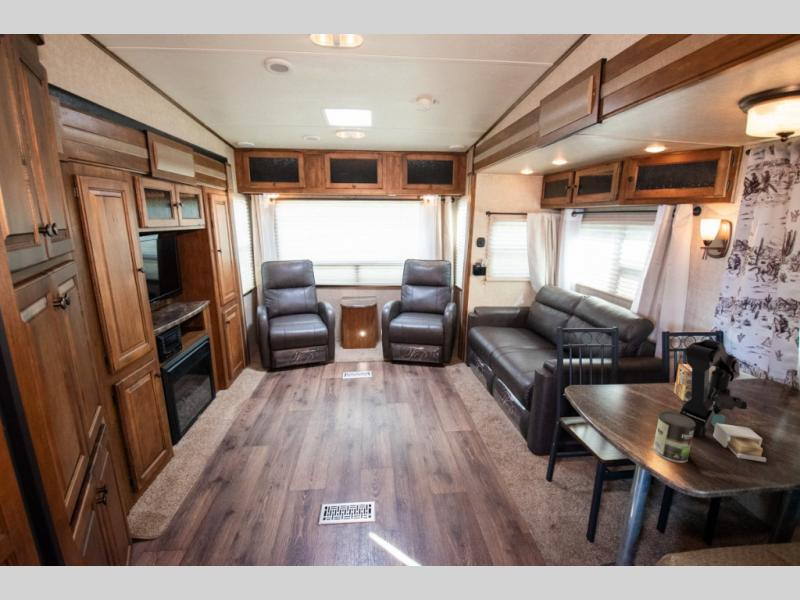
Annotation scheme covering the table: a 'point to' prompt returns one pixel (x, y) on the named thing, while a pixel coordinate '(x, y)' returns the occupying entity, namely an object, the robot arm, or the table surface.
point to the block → (745, 446)
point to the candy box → (683, 381)
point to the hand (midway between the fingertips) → (711, 418)
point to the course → (734, 433)
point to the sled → (720, 420)
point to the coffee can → (673, 436)
